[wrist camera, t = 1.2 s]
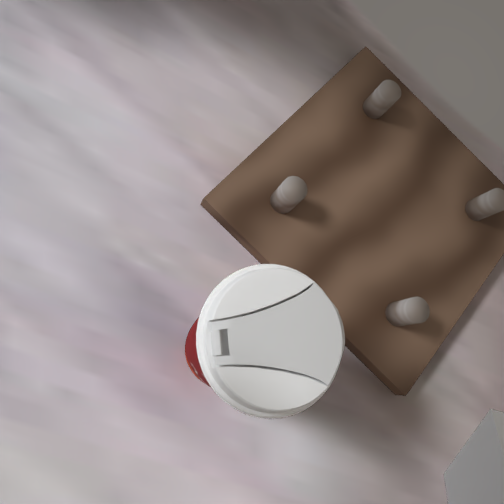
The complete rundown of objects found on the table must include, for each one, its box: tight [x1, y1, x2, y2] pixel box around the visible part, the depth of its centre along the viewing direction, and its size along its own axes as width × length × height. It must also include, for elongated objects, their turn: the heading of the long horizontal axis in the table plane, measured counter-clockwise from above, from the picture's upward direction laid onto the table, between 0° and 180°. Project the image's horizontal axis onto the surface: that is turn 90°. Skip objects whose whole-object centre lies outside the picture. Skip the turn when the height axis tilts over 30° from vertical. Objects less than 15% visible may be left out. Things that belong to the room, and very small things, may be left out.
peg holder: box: [200, 47, 504, 396], centre depth 40 cm, size 22×22×4 cm
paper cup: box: [185, 264, 345, 419], centre depth 29 cm, size 8×8×14 cm
